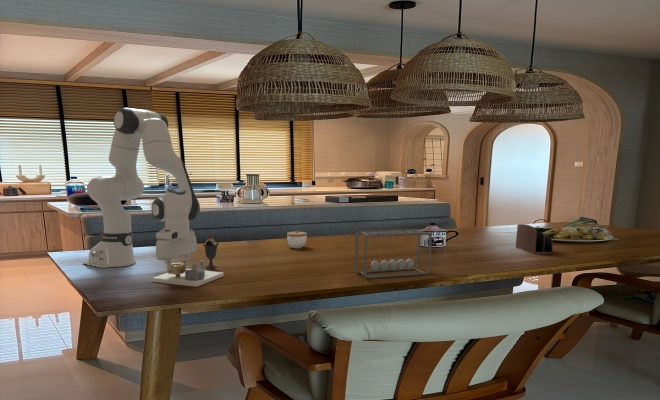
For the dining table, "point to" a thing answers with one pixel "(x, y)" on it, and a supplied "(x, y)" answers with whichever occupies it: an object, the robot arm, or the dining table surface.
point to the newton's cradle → (392, 263)
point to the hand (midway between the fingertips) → (177, 267)
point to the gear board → (189, 276)
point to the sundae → (210, 250)
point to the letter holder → (533, 240)
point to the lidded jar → (296, 239)
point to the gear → (177, 268)
